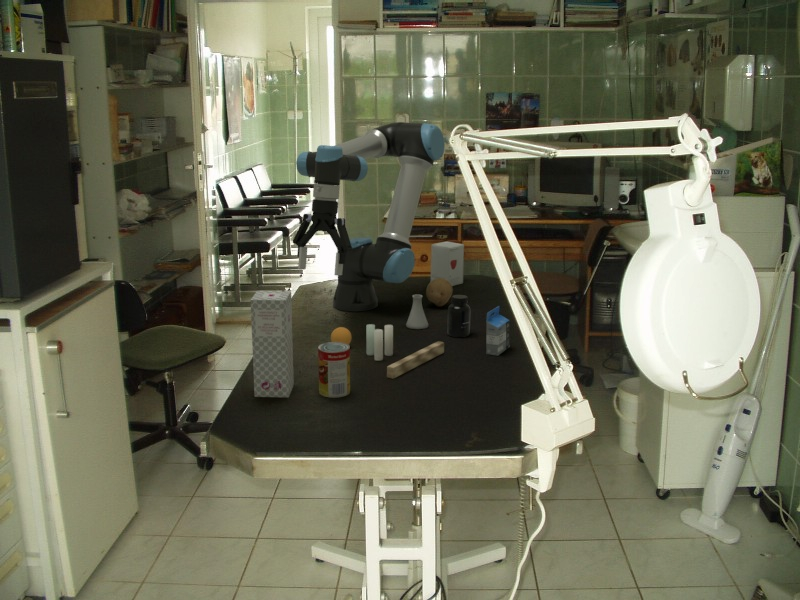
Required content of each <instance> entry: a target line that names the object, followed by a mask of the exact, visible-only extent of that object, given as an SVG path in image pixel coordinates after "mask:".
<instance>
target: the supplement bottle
mask: <svg viewBox="0 0 800 600" xmlns="http://www.w3.org/2000/svg"><path fill="white" fill-rule="evenodd" d="M468 298H469V297H468V296H467V295H464V294H454V295H453V294H452V295H451V304H449V306H448V308H447V335H448V336H450V337H453V338H465V337H466V338H467V337H468V336H469V335H470V331H471V330H470V329H471V306H470V305H469V304H468V303H469V302H468Z"/></svg>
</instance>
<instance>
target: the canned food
mask: <svg viewBox="0 0 800 600" xmlns="http://www.w3.org/2000/svg"><path fill="white" fill-rule="evenodd" d="M350 346H351V345H350V344H349V345H348V344H346V343H342V342H332V341H328V342H323V343H321V344H319V345H318V346H317V351H318V353H317V355H318V356H317V359H318V363H317V364H318V393H319V395H321V396H322V397H324V398H331V399H333V398H334V399H335V398H337V399H338V398H342V397H346V396H348V395H350V394H351V349H350Z"/></svg>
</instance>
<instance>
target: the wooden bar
mask: <svg viewBox="0 0 800 600" xmlns="http://www.w3.org/2000/svg"><path fill="white" fill-rule="evenodd" d="M444 353H445V342H443V341H440V340H438V341H435V342H433V343H432V344H430V345H428V346H426V347H424V348H422V349H419V350H417V351H415V352H414V353H412V354H409V355H407V356H406V357H404V358H402V359H399V360H398V361H395V362H394V363H391V364H389V365H388V366H386V378H389V379H392V380H393V379H396V378H397V377H400V376H401V375H404V374H405V373H407V372H409V371H411V370H412V369H413V370H414V369H416V368H417V367H419V366H421V365H422V364H424V363H427V362H428V361H430V360H432V359H434V358H436V357H439V356H440V355H442V354H444Z"/></svg>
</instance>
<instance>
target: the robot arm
mask: <svg viewBox="0 0 800 600" xmlns="http://www.w3.org/2000/svg"><path fill="white" fill-rule="evenodd" d="M444 152H445V138H444V134H443V132H442V129H441V128H440V127H439V126H438V125H436V124H433V123H427V122H424V123H420V122H405V121H404V122H402V121H397V122H392V123H388V124H384V125H381V126H378V127H376V128H372V129H369V130H368V131H367V132H366V133H365V134H364V135H362V136H358V137H355V138H352V139H350V140H347V141H344V142H342V143H341V142H340V143H338V144H335V145H325V144H320V145H318V146H317V148H316V151H302V152H301V153H300V154H298V156H297V158H296V162H295V165H296V170H297V172H298V173H299V175H301V176H303V177H308V178H314V181H313V194H312V198H314V199H313V200H312V204H311V212H312V214H311V213H304V214H303V216H302V221H301V223H300V225H299V227H298V230H297V231H296V233H295V235H294V237H293V239H292V243H293V244H295V245H296V246H297V258H298V263H297V264H298V266H297V269H298V270H306V268H307V259H308V247H307V244H308V243H309V242H310V240H312V238H313V237H314V235H315V234H316V233H317V232H324V233H327V234H328V235H329V236H330V238H331V240H332V242H333V244H334V246H335V247H336V249H337V251H336V253H335V265H334V276H337V285H336V289H335V292H334V294H333V298H332V306H333V308H334V309H337V310H339V311H345V312H365V311H369V310H370V311H371V310H373V309H376V308H377V307H378V302H379V301H378V297H377V293H376V291H375V287H374V285H373V280H377V281H380V282H385V283H388V284H391V283H395V284H401V283H403V282H405V281H406V280H407V279H408V278H410V276H411V274H412V272H413V270H414V269H415V263H416V259H415V258H416V257H415V256H416V255H415V253H414V252H413V250H412V247H413V245H412V244H411V242H410V236H411V233H412V228H413V225H414V221H415V217H416V213H417V208H418V205H419V201H420V197H421V193H422V189H423V185H424V184H425V183H424V181H425V178H426V174H427V171H430V170H431V169H432V168H433V166H434V163H435V162H436V161H439V160H441V158H442V157H443V155H444ZM383 157H395V158H396V157H397V159H398V161H399V163H400V165H401V166H400V170H399V173H398V176H397V180H396V184H395V187H394V188H395V189H394V192H393V195H392V199H391V202H390V206H389V210H388V214H387V218H386V220H385V226H384V229H383V233H381V234H380V235H378V236H376V237H377V238H376V241H375V243H373V242H374V241H373V238H372V237H368V236H365V237H364V236H363V237H362V236H361V237H360V236H359V237H353V238H352V237H351V238H350V236H349V234H348V230H347V227H346V219H345V218H343V217H338V218H337V214H338V212H339V211H338V210H339V201H338V200H339V199H340V187H341V186H340V185H341V181H349V182H360V181H362V180H364V179H365V178H366V177H367V175H368V171H369V170H368V169H369V165H368V162H367V160H369V159H370V158H374V159H379V158H383ZM311 222H312V223H311ZM310 224H311V225H310ZM336 226H337V227H336Z"/></svg>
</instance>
